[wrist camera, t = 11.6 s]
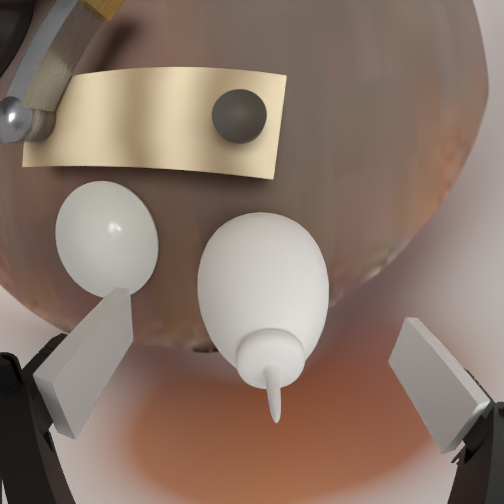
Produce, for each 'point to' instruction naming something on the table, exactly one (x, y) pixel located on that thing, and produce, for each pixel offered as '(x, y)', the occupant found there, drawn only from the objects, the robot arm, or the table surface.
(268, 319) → the sauce bottle
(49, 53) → the lever
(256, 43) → the table surface
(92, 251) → the white round disc
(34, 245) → the table surface
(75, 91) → the beige long block
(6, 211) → the table surface
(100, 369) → the robot arm
